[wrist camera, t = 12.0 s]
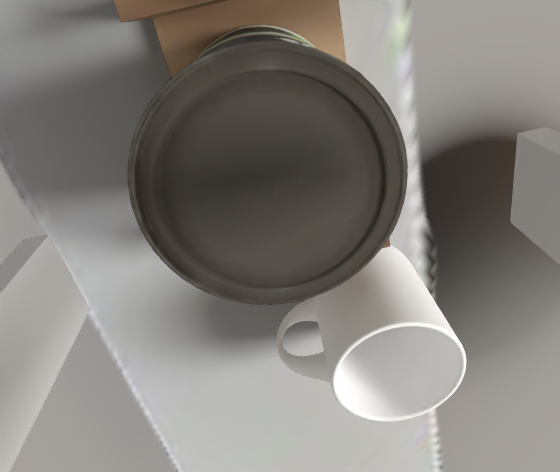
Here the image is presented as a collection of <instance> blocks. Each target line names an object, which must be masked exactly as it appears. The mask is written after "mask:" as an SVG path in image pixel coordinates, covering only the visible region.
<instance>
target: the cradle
mask: <svg viewBox="0 0 560 472" xmlns="http://www.w3.org/2000/svg"><path fill="white" fill-rule="evenodd" d="M114 3H115V6H116V9H117V12H118V15H119V18H120V21H121V22H128V21H135V20H143V19H150V18H152V19H153V22H154V26H155V29H156V32H157V35H158V38H159V42H160V45H161V48H162V51H163V55H164V58H165V61H166V64H167V67H168V71H169V74H170V77H171V78H172V77H173V76H174V75H176V74H177V73H178V72H179V71H180V70H182V69H183V68H184V67H186V66H187V65H188V64H190V63H192V62H193V61H195V60H196V59H197V58H198V57H199V55H200V54H201V53H202V51H203V50H204V49H205V48H207V46H208V45H210V44H211V43H212V42H213V41H214V40H216V39H217V38H219V37H220V36H222V35H224V34H225V33H227V32H230V31H232V30H235V29H237V28H240V27H245V26H251V25H270V26H277V27H280V28H284V29H287V30H289V31H292V32H294V33H296V34H298V35H300V36H301V37H303V38H304V39H306V40H307V41H309V42H310V43H311V44H312V45H313V46H314V47H315V48H317V49H318V50H321V51H323V52H326V53H328V54H330V55H332V56H334V57H336V58H338V59H340V60H341V61H343V62H345V63H346V57H345V49H344V41H343V32H342V24H341V15H340V7H339V0H114ZM386 247H390V241H389V239H388V240H387V242H386V243H385V244H384V246H383V247H382V248H386Z"/></svg>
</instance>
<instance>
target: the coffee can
mask: <svg viewBox="0 0 560 472" xmlns="http://www.w3.org/2000/svg"><path fill="white" fill-rule="evenodd" d="M407 168H408V165H407V155H406V148H405V143H404V140H403V136H402V133H401V130H400V128H399V125H398V123H397V120H396V118H395V117H394V115H393V113H392V111H391V109H390V107H389V106H388V104H387V103H386V101H385V100H384V98H383V97H382V96H381V94H380V93H379V92H378V91H377V90H376V88H375V87H374V86H373V85H372V84H371V83H370V82H369V81H368V80H367V79H366V78H365V77H364V76H363V75H362V74H361V73H360V72H358V71H357V70H355V69H354V68H352V67H351V66H350V65H348V64H346V63H345V62H343V61H341V60H340V59H338V58H336V57H334V56H332V55H330V54H328V53H326V52H323V51H321V50H318V49H317V48H315V47H314V46H313V45H312V44H311V43H310V42H309V41H307V40H306V39H304V38H303V37H301V36H300V35H298V34H296V33H294V32H292V31H289V30H287V29H284V28H280V27H277V26H270V25H251V26H245V27H240V28H237V29H235V30H232V31H230V32H227V33H225V34H224V35H222V36H220V37H219V38H217V39H216V40H214V41H213V42H212V43H211V44H210V45H208V46H207V48H205V49H204V50H203V51H202V53H201V54H200V55H199V57H198V58H197V59H196V60H195V61H193V62H192V63H190V64H188V65H187V66H186V67H184V68H183V69H182V70H180V71H179V72H178V73H177V74H176V75H174V76H173V77H172V78H171V79H170V80H169V81H168V82H167V83H166V84H165V85H164V86H163V87H162V88H161V89H160V91H159V92H158V93H157V94H156V96H155V97H154V98H153V99H152V101H151V102H150V104H149V105H148V107H147V108H146V110H145V112H144V113H143V115H142V117H141V119H140V121H139V123H138V126H137V129H136V131H135V134H134V137H133V140H132V144H131V148H130V156H129V162H128V187H129V194H130V200H131V205H132V208H133V211H134V214H135V217H136V220H137V222H138V225H139V227H140V229H141V231H142V233H143V235H144V237H145V238H146V240H147V242H148V243H149V244H150V246H151V247H152V249H153V250H154V252H155V253H156V254H157V255H158V256H159V257H160V259H161V260H162V261H163V262H164V263H165V264H166V265H167V266H168V267H169V268H170V269H171V270H172V271H174V272H175V273H176V274H177V275H179V276H180V277H181V278H182V279H184V280H185V281H187V282H189V283H190V284H192V285H193V286H195V287H197V288H199V289H201V290H203V291H205V292H207V293H210V294H212V295H215V296H218V297H221V298H224V299H227V300H231V301H235V302H240V303H248V304H267V305H272V304H283V303H290V302H296V301H300V300H305V299H309V298H312V297H315V296H318V295H320V294H323V293H325V292H327V291H329V290H332V289H334V288H336V287H338V286H340V285H341V284H343V283H344V282H346V281H347V280H349V279H350V278H352V277H353V276H354V275H356V274H357V273H358V272H359V271H360V270H362V269H363V268H364V267H365V266H366V265H367V264H368V263H369V262H370V261H371V260H372V259H373V258H374V257H375V256H376V255H377V253H378V252H379V251H380V250H381V249H382V247H383V246H384V244H385V243H386V242H387V240H388V239H389V237H390V235H391V233H392V232H393V230H394V228H395V226H396V224H397V222H398V219H399V217H400V213H401V210H402V207H403V204H404V199H405V194H406V187H407V175H408V174H407Z"/></svg>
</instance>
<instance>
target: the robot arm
mask: <svg viewBox="0 0 560 472" xmlns="http://www.w3.org/2000/svg"><path fill="white" fill-rule="evenodd" d="M511 223H512V224H513V225H514V226H516V227H517V228H518V229H519V230H520V231H521V232H523V233H524V234H525V235H526V236H527V237H528V238H530V239H531V240H532V241H533V242H534V243H535V244H537V245H538V246H539V247H540V248H541V249H543V250H544V251H545V252H546V253H547V254H548V255H549V256H550V257H552V258H553V259H554V260H555V261H556V262H557V263H559V264H560V133H558V132H556V131H554V130H551V129H549V128H547V127H545V128H541V129H536V130H531V131H527V132H522V133H518V135H517V147H516V160H515V173H514V185H513V198H512V211H511ZM89 311H90V308H89V306H88V304H87V303H86V301H85V299H84V297H83V295H82V293H81V292H80V290H79V288H78V286H77V284H76V282H75V281H74V279H73V277H72V275H71V273H70V272H69V270H68V268H67V266H66V264H65V262H64V261H63V259H62V257H61V255H60V253H59V251H58V250H57V248H56V246H55V244H54V242H53V241H52V239H51V237H50V235H49V234H48V235H44V236H39V237H34V238H30V239H25V240H23V241H22V242H21V243H20V244H19V245H18V246H17V247H16V248H15V249H14V250H13V252H12V253H11V254H10V255H9V256H8V257H7V258H6V259H5V260H4V261H3V262H2V264H1V265H0V472H10V470H11V468H12V466H13V464H14V462H15V460H16V458H17V456H18V454H19V451H20V450H21V448H22V446H23V444H24V442H25V440H26V438H27V436H28V434H29V432H30V430H31V428H32V426H33V424H34V421H35V420H36V418H37V415H38V414H39V412H40V410H41V408H42V405H43V404H44V401H45V399H46V397H47V395H48V393H49V391H50V389H51V387H52V385H53V383H54V381H55V379H56V377H57V375H58V373H59V371H60V369H61V367H62V365H63V363H64V361H65V359H66V357H67V355H68V353H69V351H70V349H71V347H72V345H73V343H74V341H75V339H76V337H77V335H78V333H79V331H80V329H81V327H82V325H83V323H84V321H85V319H86V317H87V315H88V313H89Z"/></svg>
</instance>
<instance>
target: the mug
mask: <svg viewBox="0 0 560 472" xmlns="http://www.w3.org/2000/svg"><path fill="white" fill-rule="evenodd" d="M301 321H316V322H318V326H319V330H320V335H321V339H322V344H323V349H324V352H321V353H319V354H315V355H310V356H295V355H292V354H290V353H288V352H287V351H286V350H285V349H284V348H283V345H282V337H283V335H284V333H285V331H286V330H287V329H288V328H289V327H290V326H292V325H293V324H295V323H298V322H301ZM277 351H278V354H279V356H280V358H281V360H282V361H283V363H284V364H285V365H286V366H287V367H289V368H290V369H291V370H293V371H295V372H296V373H299V374H301V375H304V376H307V377H311V378H315V379H320V380H325V381H329V382H331V385H332V390H333V392H334V395H335V397H336V399H337V400H338V402H339V403H340V404H341V405H342V406H343V407H344V408H345V409H346V410H347V411H349V412H351V413H352V414H354V415H356V416H358V417H361V418H364V419H368V420H373V421H399V420H405V419H409V418H413V417H416V416H419V415H422V414H424V413H426V412H428V411H430V410H432V409H434V408H436V407H437V406H439V405H440V404H441V403H443V402H444V401H445V400H446V399H448V398H449V397H450V396H451V395H452V394H453V393H454V391H455V390H456V389H457V387H458V386H459V384H460V383H461V381H462V378H463V376H464V373H465V369H466V355H465V351H464V349H463V346H462V345H461V343H460V341H459V340H458V338H457V336H456V335H455V334H454V332H453V330H452V328H451V327H450V325H449V324H448V322H447V320H446V319H445V317H444V316H443V314H442V312H441V311H440V309H439V308H438V306H437V304H436V303H435V301H434V300H433V298H432V297H431V295H430V293H429V292H428V290H427V289H426V287H425V285H424V284H423V282H422V281H421V279H420V277H419V276H418V274H417V273H416V271H415V269H414V268H413V266H412V265H411V263H410V262H409V261H408V259H407V258H406V257H405V256H404V255H403V254H402V253H401V252H400V251H399V250H398V249H396V248H395V247H393V246H391V245H390V247H386V248H382V249H381V250H380V251H379V252H378V253H377V255H376V256H375V257H374V258H373V259H372V260H371V261H370V262H369V263H368V264H367V265H366V266H365V267H364V268H363V269H362V270H360V271H359V272H358V273H357V274H356V275H354V276H353V277H352V278H350V279H349V280H347V281H346V282H344V283H343V284H341V285H340V286H338V287H336V288H334V289H332V290H329V291H327V292H325V293H323V294H320V295H318V296H315V297H312V298H309V299H307V300H305V301H303V302H301V303H299V304H298V305H296V306H295V307H294V308H293V309H291V310H290V311H289V312H288V313H287V315H286V316H285V317H284V319H283V320H282V322H281V324H280V326H279V329H278V333H277Z"/></svg>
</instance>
